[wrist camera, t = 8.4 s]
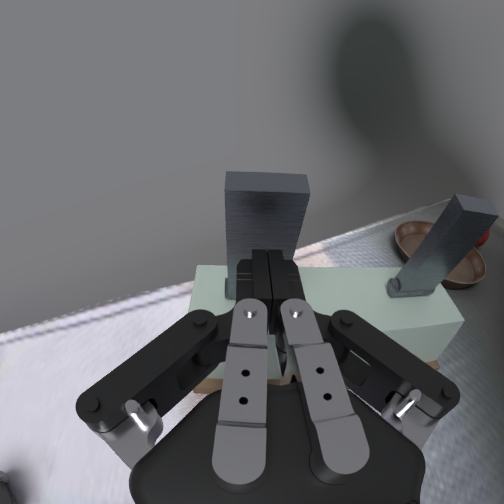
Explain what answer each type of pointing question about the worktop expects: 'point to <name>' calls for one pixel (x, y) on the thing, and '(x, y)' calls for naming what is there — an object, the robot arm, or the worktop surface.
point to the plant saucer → (461, 275)
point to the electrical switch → (5, 491)
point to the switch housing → (350, 307)
